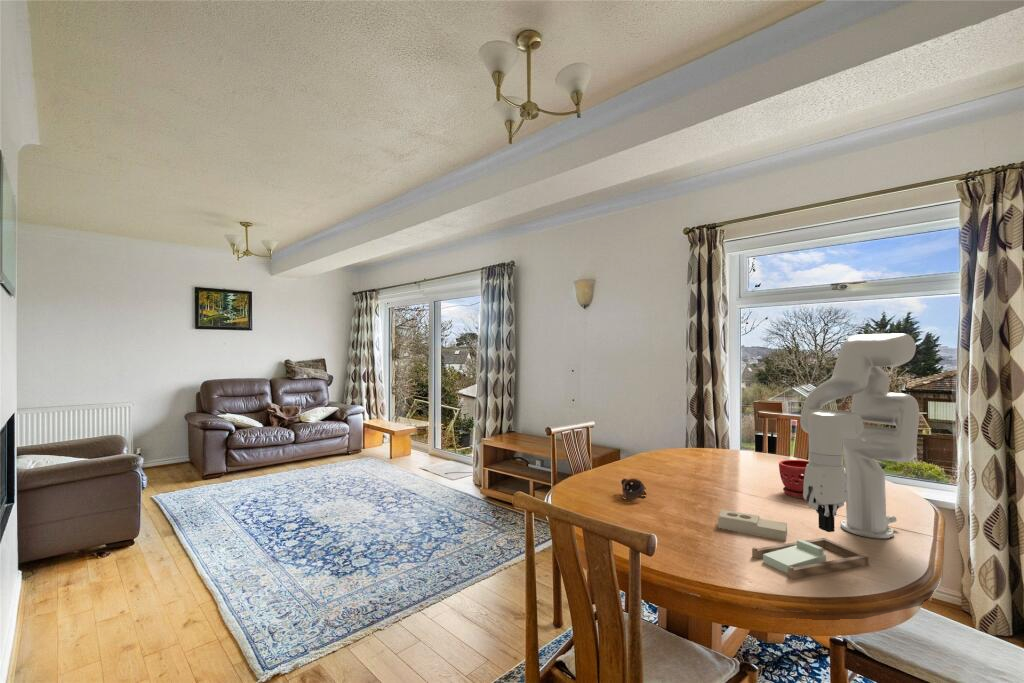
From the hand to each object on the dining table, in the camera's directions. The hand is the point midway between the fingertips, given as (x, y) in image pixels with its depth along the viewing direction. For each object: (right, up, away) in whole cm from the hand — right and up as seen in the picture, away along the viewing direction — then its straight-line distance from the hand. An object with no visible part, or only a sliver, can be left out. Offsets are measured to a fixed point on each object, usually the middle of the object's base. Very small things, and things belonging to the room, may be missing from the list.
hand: (826, 530), depth 121 cm
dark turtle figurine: (-38, -9, +51) cm, 64 cm away
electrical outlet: (-10, -8, +19) cm, 23 cm away
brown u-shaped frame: (-5, -8, -1) cm, 9 cm away
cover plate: (-10, -8, -2) cm, 13 cm away
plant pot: (+25, -8, +51) cm, 57 cm away
